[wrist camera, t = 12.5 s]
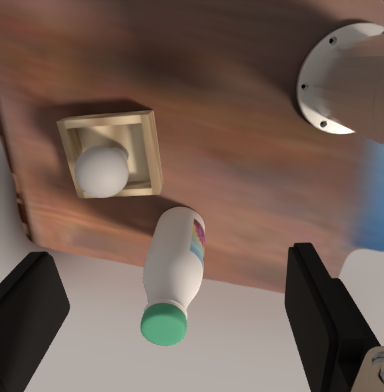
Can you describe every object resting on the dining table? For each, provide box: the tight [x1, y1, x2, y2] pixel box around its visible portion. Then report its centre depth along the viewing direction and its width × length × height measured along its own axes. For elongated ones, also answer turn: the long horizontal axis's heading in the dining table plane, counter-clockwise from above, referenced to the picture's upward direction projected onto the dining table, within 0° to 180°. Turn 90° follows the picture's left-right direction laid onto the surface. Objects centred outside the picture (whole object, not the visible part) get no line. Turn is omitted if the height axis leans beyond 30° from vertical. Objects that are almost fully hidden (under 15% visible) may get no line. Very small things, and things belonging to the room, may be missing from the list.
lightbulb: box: [74, 146, 129, 198], centre depth 35 cm, size 6×6×11 cm
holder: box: [56, 110, 164, 199], centre depth 39 cm, size 12×11×4 cm
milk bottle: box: [141, 207, 205, 346], centre depth 36 cm, size 8×8×20 cm
